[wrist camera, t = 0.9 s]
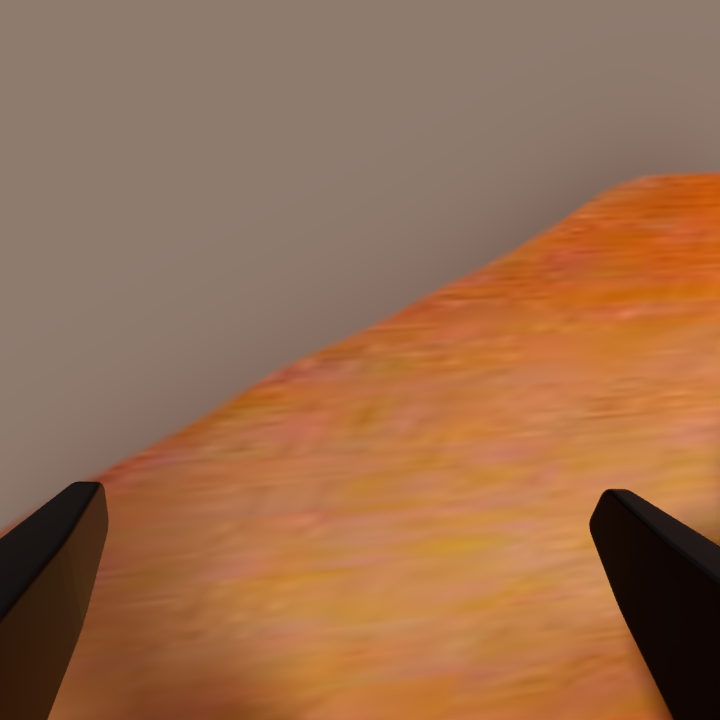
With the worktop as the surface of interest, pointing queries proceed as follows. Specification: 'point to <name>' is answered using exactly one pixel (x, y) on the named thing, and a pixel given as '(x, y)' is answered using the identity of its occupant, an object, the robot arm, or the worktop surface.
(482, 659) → the worktop surface
